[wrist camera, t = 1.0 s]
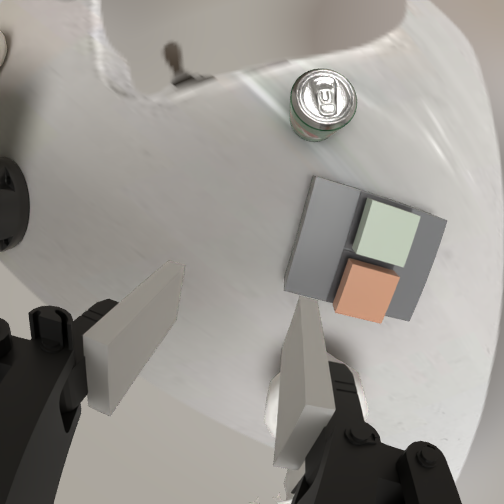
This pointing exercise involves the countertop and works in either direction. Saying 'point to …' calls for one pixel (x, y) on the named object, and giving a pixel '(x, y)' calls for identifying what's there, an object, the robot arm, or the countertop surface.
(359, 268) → the rust key
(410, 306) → the button panel
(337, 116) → the soda can
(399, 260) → the sage key
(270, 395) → the white floating cup sculpture
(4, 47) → the lidded jar
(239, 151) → the countertop surface
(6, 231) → the robot arm
